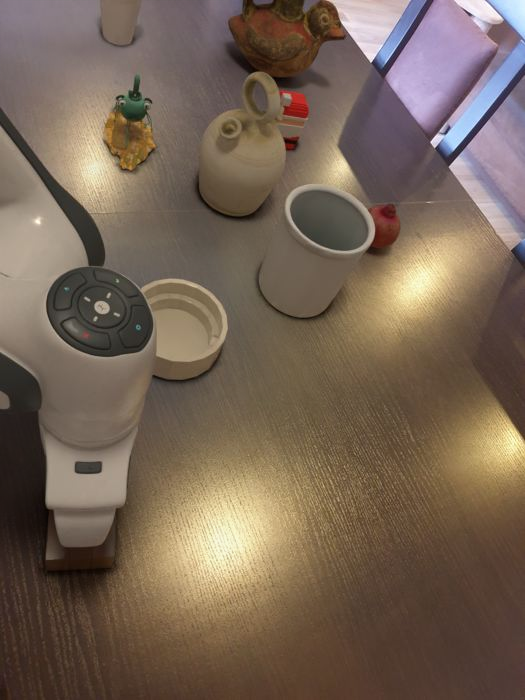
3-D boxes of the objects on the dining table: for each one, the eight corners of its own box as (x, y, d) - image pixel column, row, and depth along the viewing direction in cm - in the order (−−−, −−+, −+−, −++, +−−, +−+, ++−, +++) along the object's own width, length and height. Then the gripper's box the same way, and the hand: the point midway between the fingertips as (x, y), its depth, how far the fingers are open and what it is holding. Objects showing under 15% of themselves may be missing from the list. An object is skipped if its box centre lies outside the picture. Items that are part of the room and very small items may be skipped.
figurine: (292, 130, 125) (312, 81, 115) (298, 152, 121) (319, 103, 112) (256, 124, 122) (272, 74, 112) (261, 147, 118) (278, 97, 109)
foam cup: (147, 44, 126) (155, -16, 115) (114, 53, 121) (119, -9, 110) (120, 20, 128) (125, -42, 117) (86, 27, 122) (88, -37, 112)
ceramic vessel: (317, 110, 131) (363, 1, 111) (211, 66, 128) (239, -54, 108) (328, 73, 141) (372, -33, 121) (230, 31, 138) (259, -85, 118)
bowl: (123, 379, 82) (127, 358, 77) (125, 297, 89) (128, 274, 84) (221, 383, 86) (231, 364, 81) (215, 305, 93) (223, 283, 89)
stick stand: (46, 571, 66) (44, 560, 61) (54, 470, 72) (53, 452, 68) (111, 567, 68) (115, 556, 64) (114, 469, 75) (117, 453, 70)
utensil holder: (242, 258, 101) (271, 184, 86) (313, 250, 107) (351, 179, 93) (272, 326, 95) (308, 259, 80) (345, 313, 101) (391, 248, 87)
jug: (208, 228, 102) (243, 109, 82) (179, 167, 108) (206, 43, 88) (280, 219, 109) (330, 108, 88) (250, 163, 115) (290, 46, 95)
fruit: (345, 244, 110) (367, 207, 102) (358, 220, 115) (380, 183, 107) (381, 264, 110) (406, 229, 102) (392, 240, 115) (417, 205, 107)
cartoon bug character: (155, 113, 114) (167, 50, 102) (152, 183, 107) (164, 123, 94) (106, 103, 111) (112, 36, 99) (99, 174, 104) (105, 111, 91)
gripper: (62, 310, 55) (61, 377, 66) (43, 524, 44) (46, 561, 55) (128, 315, 57) (117, 380, 68) (125, 521, 46) (112, 558, 57)
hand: (85, 463), depth 62 cm, fingers closed
